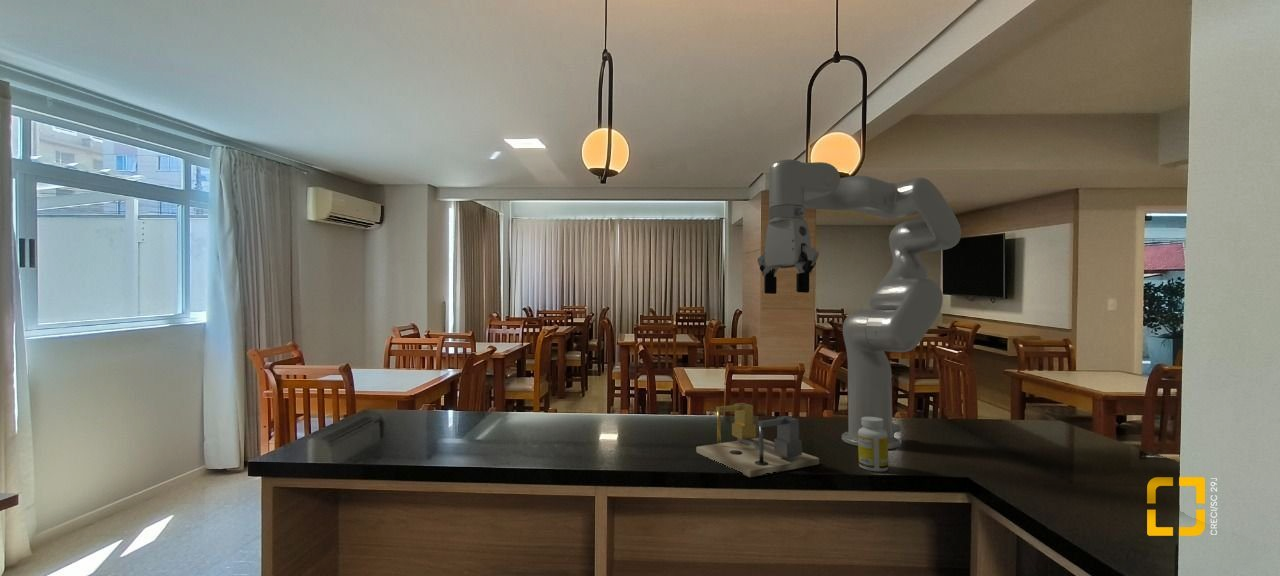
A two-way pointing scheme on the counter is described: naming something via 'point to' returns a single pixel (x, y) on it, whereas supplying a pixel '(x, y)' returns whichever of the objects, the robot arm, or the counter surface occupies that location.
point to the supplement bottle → (873, 445)
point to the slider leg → (738, 421)
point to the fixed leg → (782, 437)
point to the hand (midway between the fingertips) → (786, 293)
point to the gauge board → (754, 457)
